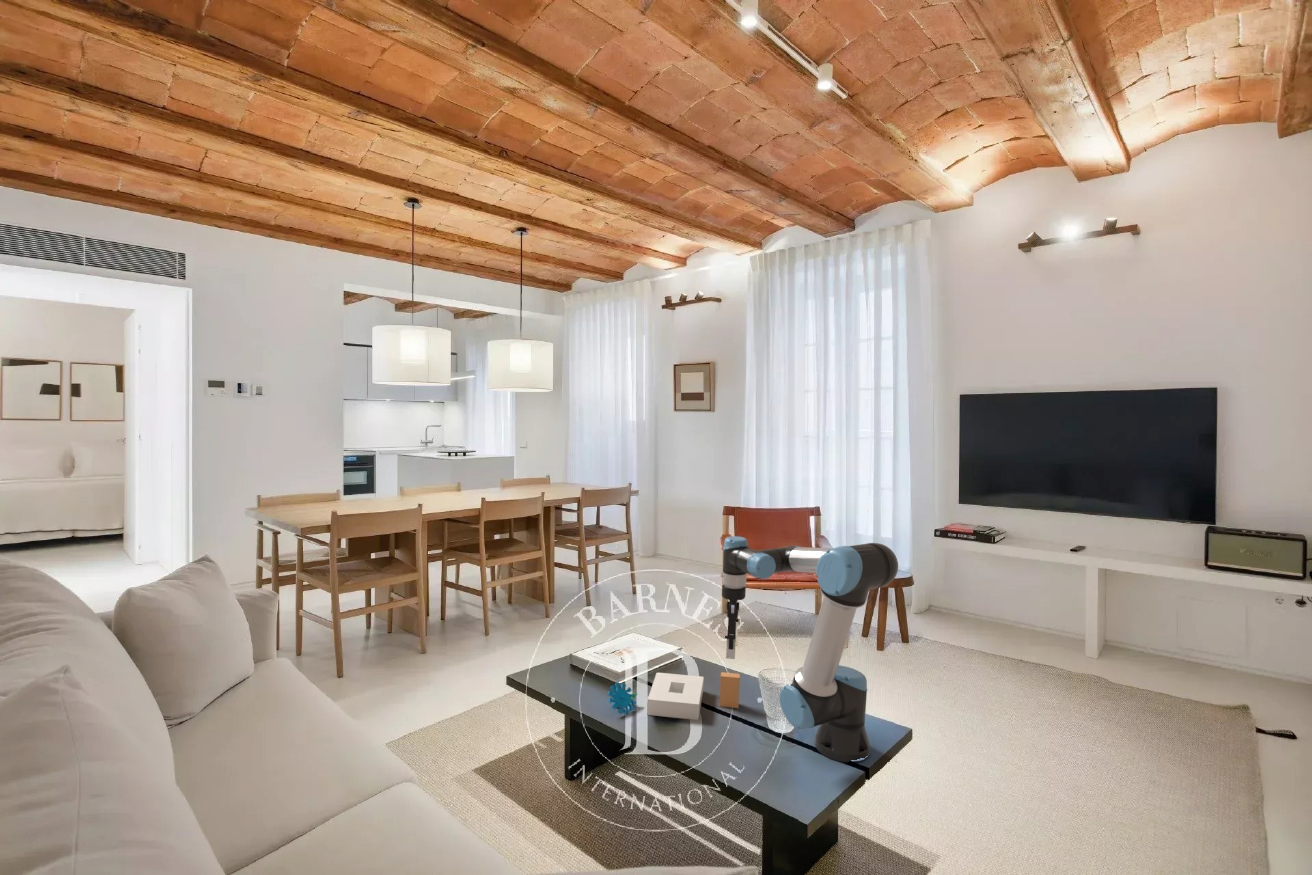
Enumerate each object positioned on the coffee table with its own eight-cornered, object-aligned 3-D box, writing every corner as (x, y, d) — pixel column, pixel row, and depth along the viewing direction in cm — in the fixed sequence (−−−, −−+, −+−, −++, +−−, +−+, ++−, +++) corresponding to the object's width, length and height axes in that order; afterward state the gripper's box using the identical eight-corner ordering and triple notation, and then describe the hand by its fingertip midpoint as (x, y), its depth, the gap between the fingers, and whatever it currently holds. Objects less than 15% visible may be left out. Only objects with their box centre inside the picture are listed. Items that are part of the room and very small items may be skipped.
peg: (738, 707, 214) (739, 677, 213) (719, 706, 215) (720, 676, 214) (738, 703, 217) (739, 673, 216) (719, 701, 218) (721, 672, 217)
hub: (698, 719, 205) (698, 704, 205) (647, 714, 207) (647, 699, 207) (703, 691, 225) (703, 676, 225) (656, 686, 227) (656, 672, 227)
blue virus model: (616, 714, 203) (605, 683, 209) (606, 722, 207) (596, 691, 212) (644, 709, 211) (633, 679, 216) (634, 717, 214) (623, 687, 219)
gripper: (723, 573, 226) (721, 634, 227) (720, 596, 201) (717, 664, 203) (746, 575, 225) (743, 636, 226) (745, 598, 200) (742, 666, 202)
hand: (731, 649), depth 214 cm, fingers open, 13 cm apart
